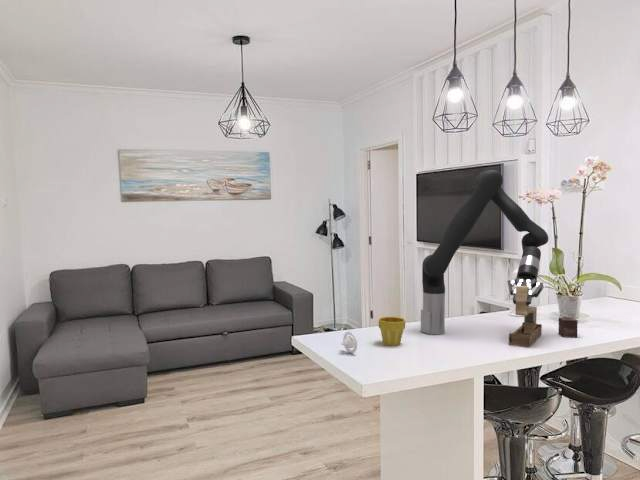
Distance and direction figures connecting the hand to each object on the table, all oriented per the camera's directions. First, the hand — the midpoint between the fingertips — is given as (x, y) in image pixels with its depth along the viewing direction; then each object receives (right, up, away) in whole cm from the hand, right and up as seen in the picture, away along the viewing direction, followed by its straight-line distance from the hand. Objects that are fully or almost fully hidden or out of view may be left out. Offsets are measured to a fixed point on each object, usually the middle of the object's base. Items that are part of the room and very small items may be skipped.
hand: (521, 303), depth 198 cm
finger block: (+1, -4, +2) cm, 5 cm away
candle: (+20, -13, +58) cm, 63 cm away
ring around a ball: (-68, -17, -10) cm, 70 cm away
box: (+26, -16, +16) cm, 34 cm away
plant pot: (-50, -16, +3) cm, 52 cm away
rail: (+5, -16, +9) cm, 19 cm away
